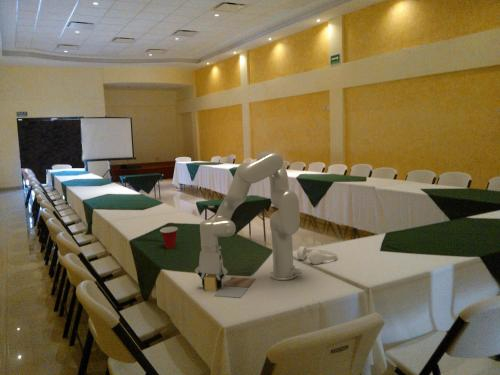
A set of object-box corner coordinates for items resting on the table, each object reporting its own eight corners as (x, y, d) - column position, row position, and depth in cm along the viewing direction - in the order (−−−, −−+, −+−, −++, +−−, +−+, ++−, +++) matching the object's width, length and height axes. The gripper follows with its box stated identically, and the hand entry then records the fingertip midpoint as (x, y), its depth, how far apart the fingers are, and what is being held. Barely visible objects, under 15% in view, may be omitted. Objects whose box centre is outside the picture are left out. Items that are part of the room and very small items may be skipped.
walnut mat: (255, 279, 197) (255, 278, 197) (248, 287, 187) (248, 287, 187) (231, 277, 201) (231, 276, 201) (223, 285, 191) (223, 285, 191)
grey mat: (248, 288, 186) (248, 287, 186) (240, 298, 176) (240, 297, 176) (222, 286, 190) (222, 286, 190) (213, 296, 179) (213, 295, 179)
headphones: (316, 252, 210) (343, 250, 221) (292, 245, 225) (318, 243, 236) (315, 266, 210) (342, 263, 222) (291, 258, 225) (317, 256, 237)
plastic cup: (157, 249, 256) (156, 230, 254) (166, 244, 266) (165, 226, 264) (174, 250, 252) (172, 231, 251) (182, 245, 263) (180, 226, 261)
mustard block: (219, 287, 190) (218, 274, 189) (215, 291, 185) (214, 278, 184) (209, 286, 191) (208, 273, 190) (204, 290, 186) (204, 277, 186)
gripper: (231, 246, 186) (233, 285, 189) (195, 245, 192) (197, 283, 194) (225, 251, 179) (227, 291, 182) (188, 250, 184) (191, 289, 187)
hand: (212, 286), depth 188 cm, fingers open, 6 cm apart
